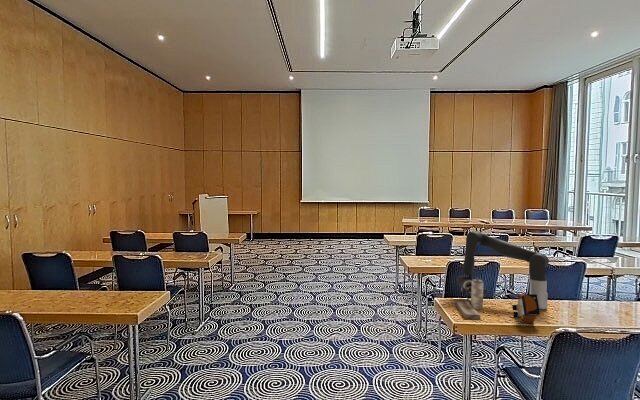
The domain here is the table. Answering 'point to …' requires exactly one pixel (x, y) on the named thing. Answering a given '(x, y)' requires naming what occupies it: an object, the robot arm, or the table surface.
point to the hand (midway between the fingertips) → (476, 292)
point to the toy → (527, 308)
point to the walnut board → (467, 310)
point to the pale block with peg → (477, 294)
